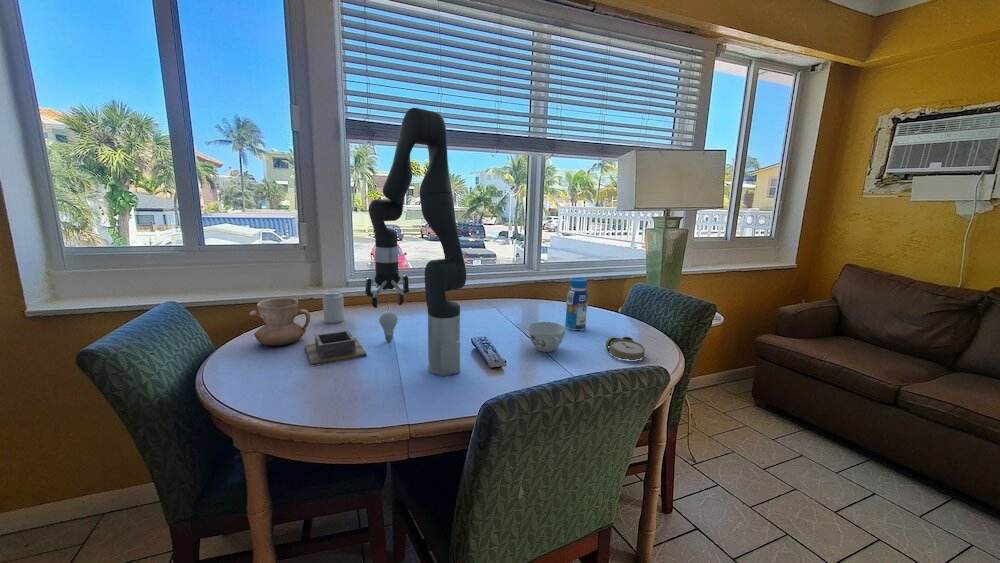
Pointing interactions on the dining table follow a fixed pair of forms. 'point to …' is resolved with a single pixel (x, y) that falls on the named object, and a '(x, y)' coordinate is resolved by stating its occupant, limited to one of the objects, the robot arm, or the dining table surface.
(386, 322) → the lightbulb
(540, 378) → the dining table surface
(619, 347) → the alarm clock
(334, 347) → the socket
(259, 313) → the ceramic jug
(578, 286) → the beverage bottle
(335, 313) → the can
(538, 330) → the teacup
